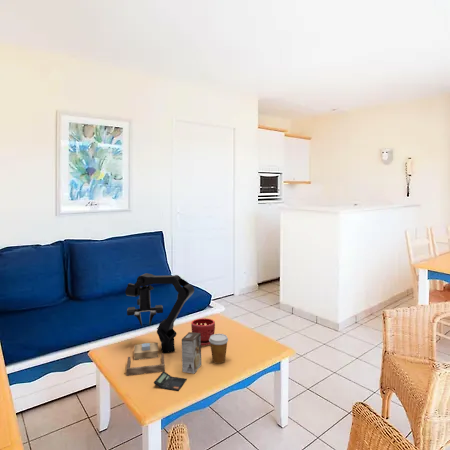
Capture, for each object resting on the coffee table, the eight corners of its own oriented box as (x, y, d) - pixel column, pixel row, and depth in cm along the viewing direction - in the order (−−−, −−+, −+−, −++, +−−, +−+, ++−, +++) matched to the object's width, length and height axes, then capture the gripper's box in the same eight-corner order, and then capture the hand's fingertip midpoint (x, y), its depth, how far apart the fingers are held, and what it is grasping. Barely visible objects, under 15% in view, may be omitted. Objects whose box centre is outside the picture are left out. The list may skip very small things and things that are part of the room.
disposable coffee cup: (230, 357, 179) (230, 334, 178) (224, 366, 170) (224, 342, 169) (213, 354, 182) (213, 332, 181) (206, 363, 173) (206, 339, 172)
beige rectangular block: (157, 349, 189) (157, 342, 189) (158, 358, 180) (158, 350, 179) (134, 352, 187) (134, 344, 187) (134, 361, 177) (133, 353, 177)
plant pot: (219, 343, 196) (219, 322, 194) (199, 349, 188) (198, 327, 187) (207, 335, 206) (207, 315, 205) (187, 341, 199) (187, 320, 198)
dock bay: (163, 358, 178) (163, 353, 178) (164, 371, 166) (164, 365, 165) (128, 362, 175) (127, 356, 174) (126, 375, 162) (126, 369, 162)
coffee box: (189, 363, 174) (188, 331, 172) (201, 364, 172) (201, 332, 170) (181, 372, 165) (181, 339, 163) (194, 374, 163) (194, 340, 162)
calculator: (178, 391, 149) (178, 385, 149) (153, 388, 152) (153, 381, 152) (186, 380, 158) (186, 374, 158) (163, 377, 161) (162, 370, 161)
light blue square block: (149, 346, 184) (149, 342, 184) (150, 349, 181) (149, 346, 180) (142, 347, 183) (141, 343, 183) (142, 350, 180) (141, 347, 179)
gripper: (161, 292, 199) (162, 318, 201) (127, 294, 195) (128, 321, 197) (162, 297, 188) (163, 326, 190) (126, 300, 185) (127, 329, 186)
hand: (145, 325), depth 191 cm, fingers open, 4 cm apart
